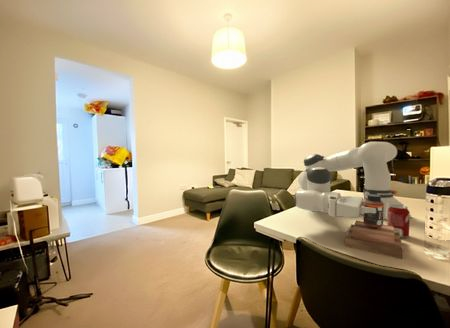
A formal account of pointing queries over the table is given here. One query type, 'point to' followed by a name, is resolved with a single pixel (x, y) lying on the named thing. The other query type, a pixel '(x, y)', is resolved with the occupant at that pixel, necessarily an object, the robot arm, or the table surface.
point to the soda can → (399, 219)
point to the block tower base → (375, 245)
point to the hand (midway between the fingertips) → (376, 208)
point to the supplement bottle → (377, 217)
